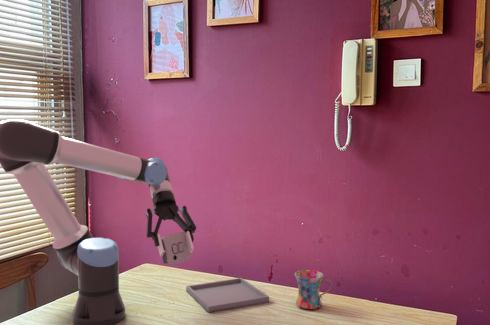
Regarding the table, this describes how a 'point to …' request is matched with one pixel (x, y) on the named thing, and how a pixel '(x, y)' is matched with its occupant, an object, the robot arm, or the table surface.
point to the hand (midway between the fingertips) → (177, 252)
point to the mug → (309, 288)
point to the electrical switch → (175, 248)
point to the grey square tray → (226, 295)
